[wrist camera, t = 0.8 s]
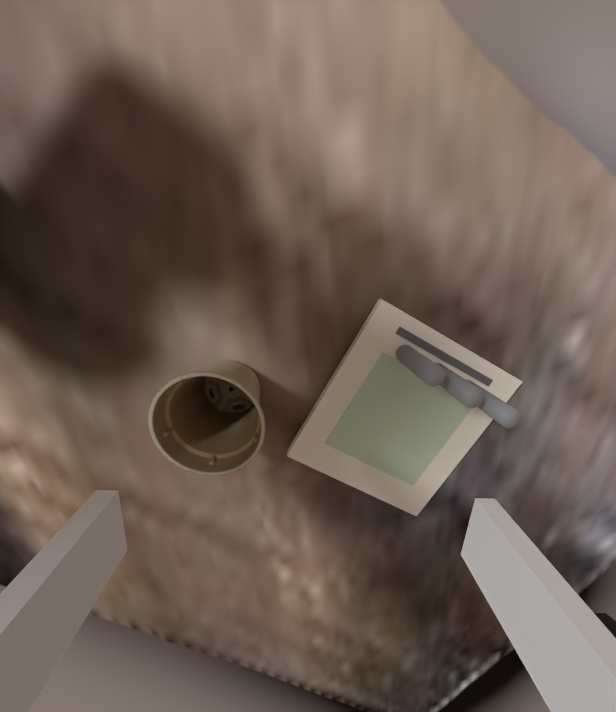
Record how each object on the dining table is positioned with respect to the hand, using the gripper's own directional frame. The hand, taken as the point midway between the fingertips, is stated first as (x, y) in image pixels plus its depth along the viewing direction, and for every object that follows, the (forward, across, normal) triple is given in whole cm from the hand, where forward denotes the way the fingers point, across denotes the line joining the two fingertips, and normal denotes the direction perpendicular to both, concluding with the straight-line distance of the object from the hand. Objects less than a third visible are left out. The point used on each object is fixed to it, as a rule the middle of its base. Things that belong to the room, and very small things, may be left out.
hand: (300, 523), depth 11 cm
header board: (+21, +12, -6) cm, 25 cm away
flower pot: (+22, -7, -4) cm, 23 cm away
